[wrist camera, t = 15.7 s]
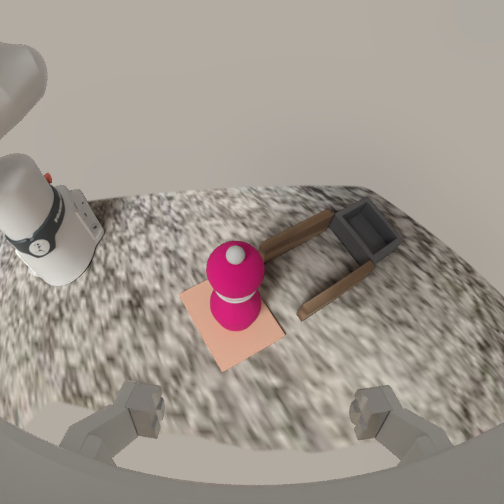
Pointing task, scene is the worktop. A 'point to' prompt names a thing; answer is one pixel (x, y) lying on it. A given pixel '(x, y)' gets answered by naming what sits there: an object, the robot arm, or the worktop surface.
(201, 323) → the terracotta board
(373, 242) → the box
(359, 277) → the walnut channel
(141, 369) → the worktop surface
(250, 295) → the pepper mill
